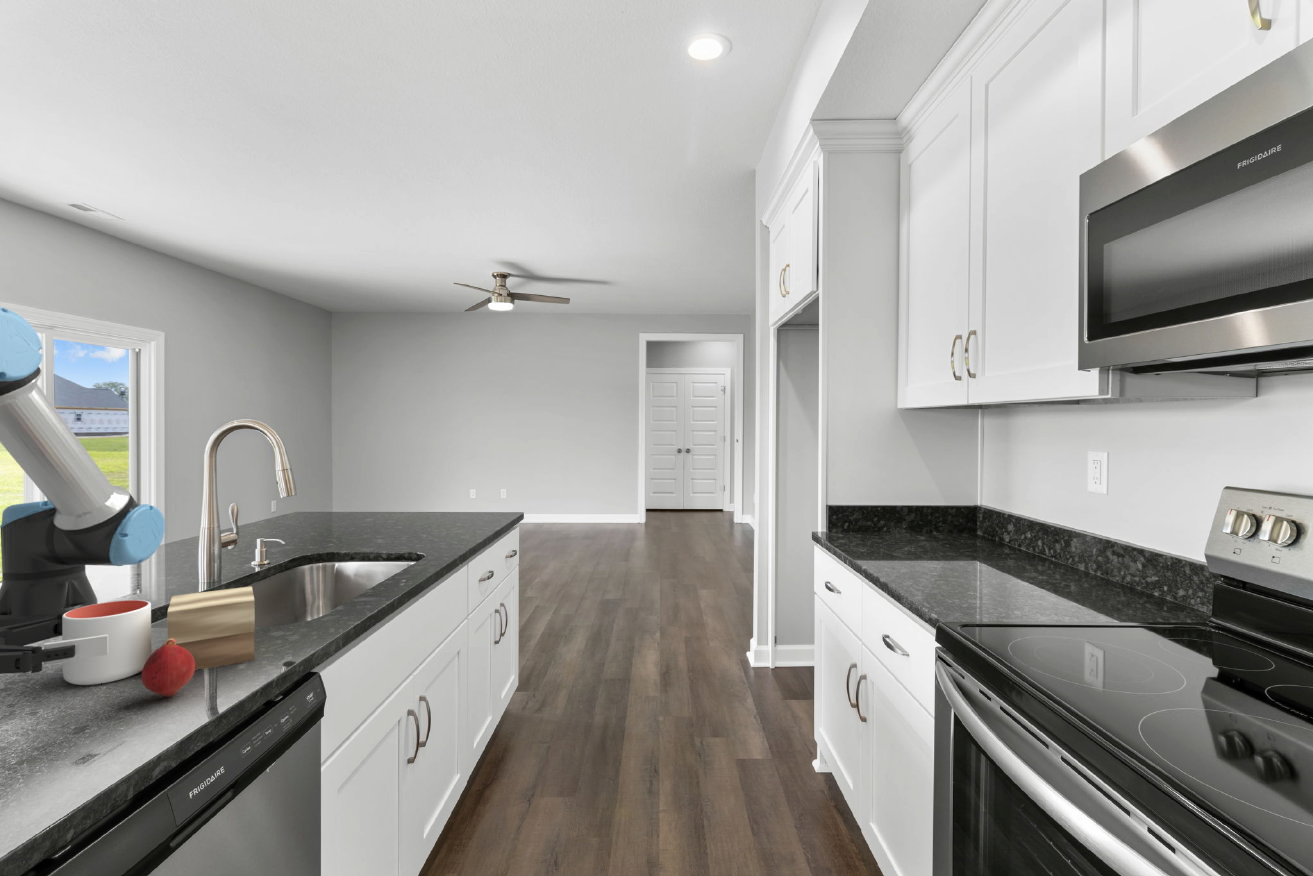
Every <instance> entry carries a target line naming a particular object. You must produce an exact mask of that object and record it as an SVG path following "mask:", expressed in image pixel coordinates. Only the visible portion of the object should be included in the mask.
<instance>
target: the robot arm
mask: <svg viewBox="0 0 1313 876" xmlns="http://www.w3.org/2000/svg"><path fill="white" fill-rule="evenodd" d="M42 349H43V344H42V340H41V338H40V336H39V335H38V333H37V331H36V329H35V328H34V327H33V326H32V325H31V324H30V323H29V322H28V321H27V319H25V318H24V317H22V316H21V315H19V314H18V313H16V312H15V311H12V310H11V309H8V308H5V307H1V306H0V444H1V445H2V446H3V447H4V449H5V450H6V451H7V453H8V454H9V455H10V456H11V457H12V458H13V460H14V461H15V462H16V463H17V464H18V465H19V467H20V468H21V469H22V470H23V471H24V473H25V474H26V475H27V476H28V478H29V479H30V480H31V481H32V482H33V483H34V484H35V486H36V487H37V488H38V489H39V490H40V492H41V493H42V494H43V496H44V497H45V498H46V499H47V500H42V501H40V500H39V501H33V502H24V503H17V504H12V505H9V506H7V507H6V508H4V509H3V511H2V515H1V525H0V544H1V545H0V546H1V547H0V549H1V573H2V575H1V579H2V581H1V586H0V675H2V674H4V675H7V674H27V673H30V672H31V674H35V673H40V672H42V671H43V665H50V664H55V663H58V664H59V663H63V662H64V661H71V660H77V659H84V658H90V657H97V656H103V655H108V635H100V636H93V637H86V638H79V639H72V640H65V641H62V640H60V641H59V640H57V641H51V642H46V643H44V644H43V646H40V645H39V646H38V645H37V646H36V645H34V646H33V645H31V644H35V643H39V642H43V641H46V640H50V639H53V638H58V637H62V616H63V615H64V614H65V613H67V612H69V611H71V610H74V609H77V608H81V607H84V606H89V605H94V604H98V597H97V595H96V593H95V591H94V589H93V587H92V585H91V582H90V580H89V578H88V576H87V573H86V571H87V570H86V566H105V567H106V566H108V567H109V566H113V567H122V566H123V567H124V566H131V565H132V566H133V565H138V564H141V563H143V562H146V561H147V560H148V559H150V558H151V557H152V556H153V555H154V554H155V553H156V552H157V551H158V549H159V547H160V546H161V544H162V542H163V538H164V533H165V531H166V523H165V522H166V521H165V517H164V514H163V513H162V512H161V510H160V509H159V508H158V507H157V506H155V505H151V504H147V503H143V504H139V503H138V502H137V501H136V499H135V498H134V497H133V496H132V494H131V493H130V492H129V490H128V489H127V488H126V487H124V486H120V485H112V484H111V482H110V481H109V479H108V478H107V476H106V475H105V473H104V472H103V471H102V470H101V468H100V467H99V465H98V464H97V463H96V462H95V460H94V459H93V458H92V456H91V455H90V453H89V452H88V451H87V449H86V448H85V447H84V445H83V444H82V442H81V441H80V440H79V439H78V437H77V436H76V434H75V433H74V432H73V430H72V429H71V428H70V426H69V425H68V423H67V422H66V421H65V419H64V418H63V417H62V415H61V414H60V413H59V411H58V409H56V407H55V406H54V405H53V403H52V402H51V400H50V399H49V397H48V396H47V395H46V394H45V392H44V391H43V390H42V388H41V386H39V384H38V381H39V380H40V378H41V376H42V372H43V371H42V368H41V367H40V365H41V362H42V361H43V360H42V359H43V353H41V352H40V351H41V350H42Z"/></svg>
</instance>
